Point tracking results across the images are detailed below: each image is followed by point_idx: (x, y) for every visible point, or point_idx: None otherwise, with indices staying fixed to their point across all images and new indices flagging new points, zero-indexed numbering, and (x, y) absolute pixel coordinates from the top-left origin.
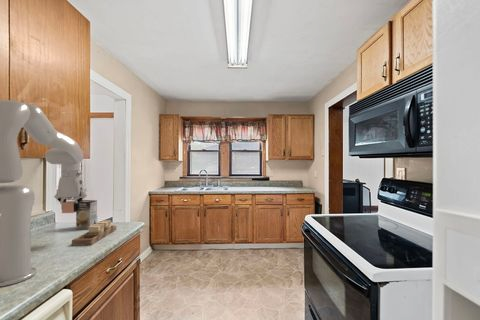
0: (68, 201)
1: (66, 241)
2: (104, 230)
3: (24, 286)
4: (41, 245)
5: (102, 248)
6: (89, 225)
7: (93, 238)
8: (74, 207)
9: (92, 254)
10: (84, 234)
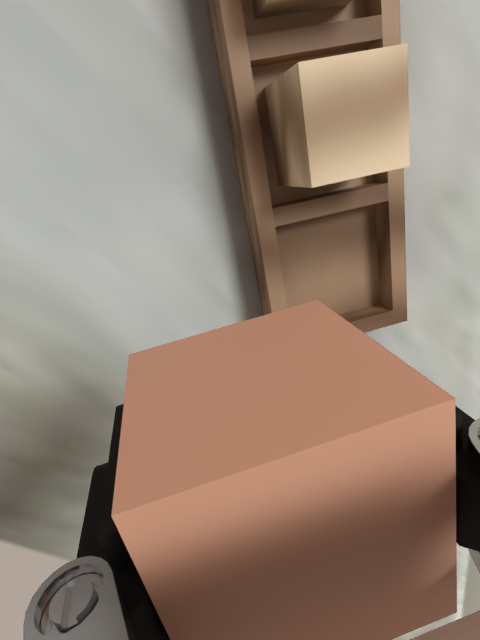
0: (182, 555)
1: (150, 278)
2: (360, 42)
3: None
4: (45, 385)
5: (473, 338)
6: None
7: (404, 293)
8: None
9: (464, 412)
10: (268, 215)
